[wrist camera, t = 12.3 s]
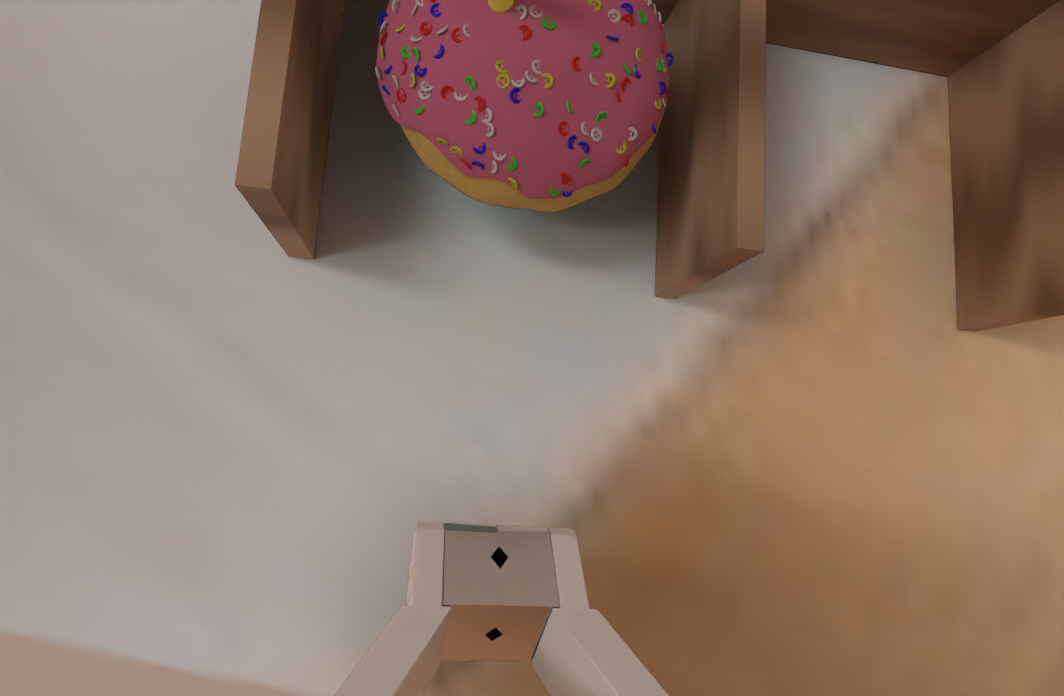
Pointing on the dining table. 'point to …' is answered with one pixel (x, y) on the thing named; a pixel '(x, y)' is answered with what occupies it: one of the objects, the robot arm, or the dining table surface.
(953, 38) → the walnut rack
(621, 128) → the cupcake
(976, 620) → the dining table surface
